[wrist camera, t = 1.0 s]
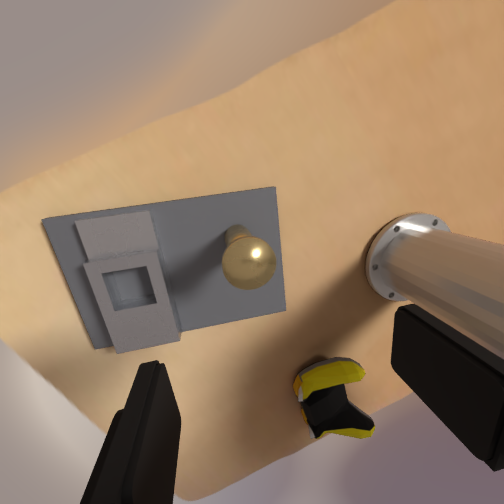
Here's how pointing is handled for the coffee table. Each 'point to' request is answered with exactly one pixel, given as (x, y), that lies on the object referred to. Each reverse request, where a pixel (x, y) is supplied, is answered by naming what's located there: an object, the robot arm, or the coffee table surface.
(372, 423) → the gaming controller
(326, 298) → the coffee table surface
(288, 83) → the coffee table surface
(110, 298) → the grey slotted housing block
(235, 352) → the coffee table surface
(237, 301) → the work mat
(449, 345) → the robot arm
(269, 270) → the pin
